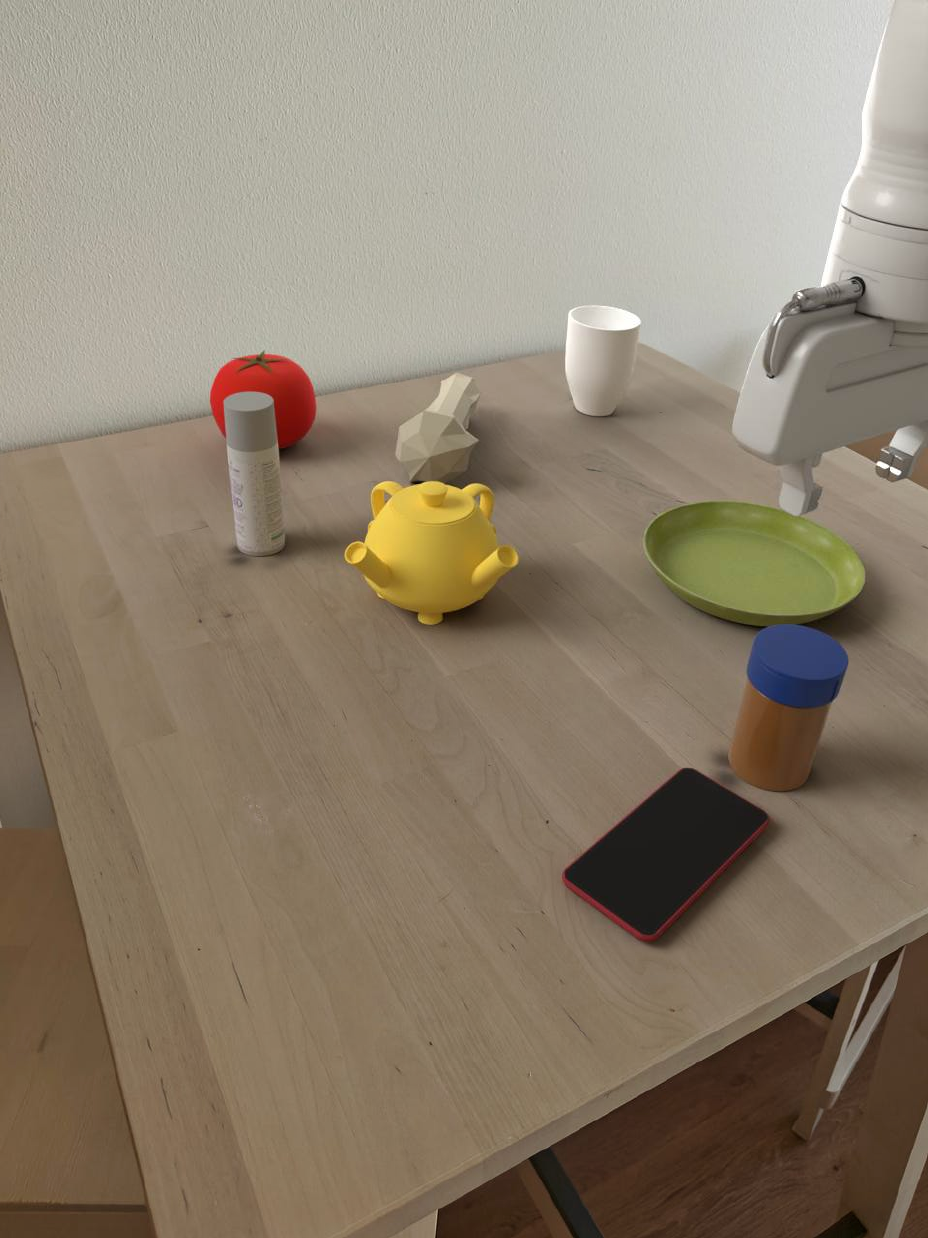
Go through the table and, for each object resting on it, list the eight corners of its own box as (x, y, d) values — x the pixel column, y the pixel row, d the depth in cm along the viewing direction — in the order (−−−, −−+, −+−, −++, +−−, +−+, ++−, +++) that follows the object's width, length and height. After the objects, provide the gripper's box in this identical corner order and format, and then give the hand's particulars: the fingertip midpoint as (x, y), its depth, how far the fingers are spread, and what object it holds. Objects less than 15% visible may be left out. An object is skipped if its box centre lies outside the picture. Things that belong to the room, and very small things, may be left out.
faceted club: (378, 484, 109) (421, 403, 129) (452, 512, 109) (484, 427, 130) (401, 411, 104) (442, 339, 125) (478, 440, 104) (507, 364, 125)
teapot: (346, 639, 87) (342, 527, 81) (356, 556, 98) (354, 451, 92) (512, 643, 88) (522, 532, 81) (504, 560, 99) (512, 456, 92)
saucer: (767, 673, 86) (775, 642, 84) (594, 567, 98) (598, 538, 96) (900, 593, 97) (910, 565, 95) (728, 507, 109) (734, 480, 108)
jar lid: (859, 686, 71) (868, 658, 70) (803, 721, 68) (812, 692, 66) (783, 641, 75) (791, 613, 74) (727, 672, 72) (734, 644, 71)
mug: (620, 427, 125) (633, 332, 119) (551, 415, 128) (560, 321, 121) (638, 393, 135) (651, 304, 128) (574, 383, 137) (583, 294, 130)
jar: (825, 769, 76) (861, 662, 70) (775, 803, 73) (808, 694, 67) (761, 726, 80) (790, 621, 74) (711, 757, 77) (737, 650, 71)
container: (227, 549, 98) (211, 404, 90) (255, 527, 102) (242, 386, 93) (267, 561, 97) (255, 415, 88) (294, 539, 100) (285, 397, 92)
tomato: (288, 415, 125) (283, 332, 119) (335, 450, 117) (332, 364, 111) (197, 436, 119) (187, 350, 113) (240, 475, 111) (232, 385, 105)
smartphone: (556, 875, 65) (686, 763, 74) (555, 884, 66) (684, 771, 75) (649, 942, 61) (775, 815, 70) (647, 952, 62) (772, 824, 71)
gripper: (829, 312, 48) (767, 559, 56) (1067, 260, 58) (986, 477, 66) (733, 276, 52) (688, 510, 60) (970, 233, 62) (905, 440, 70)
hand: (845, 492), depth 63 cm, fingers open, 8 cm apart
